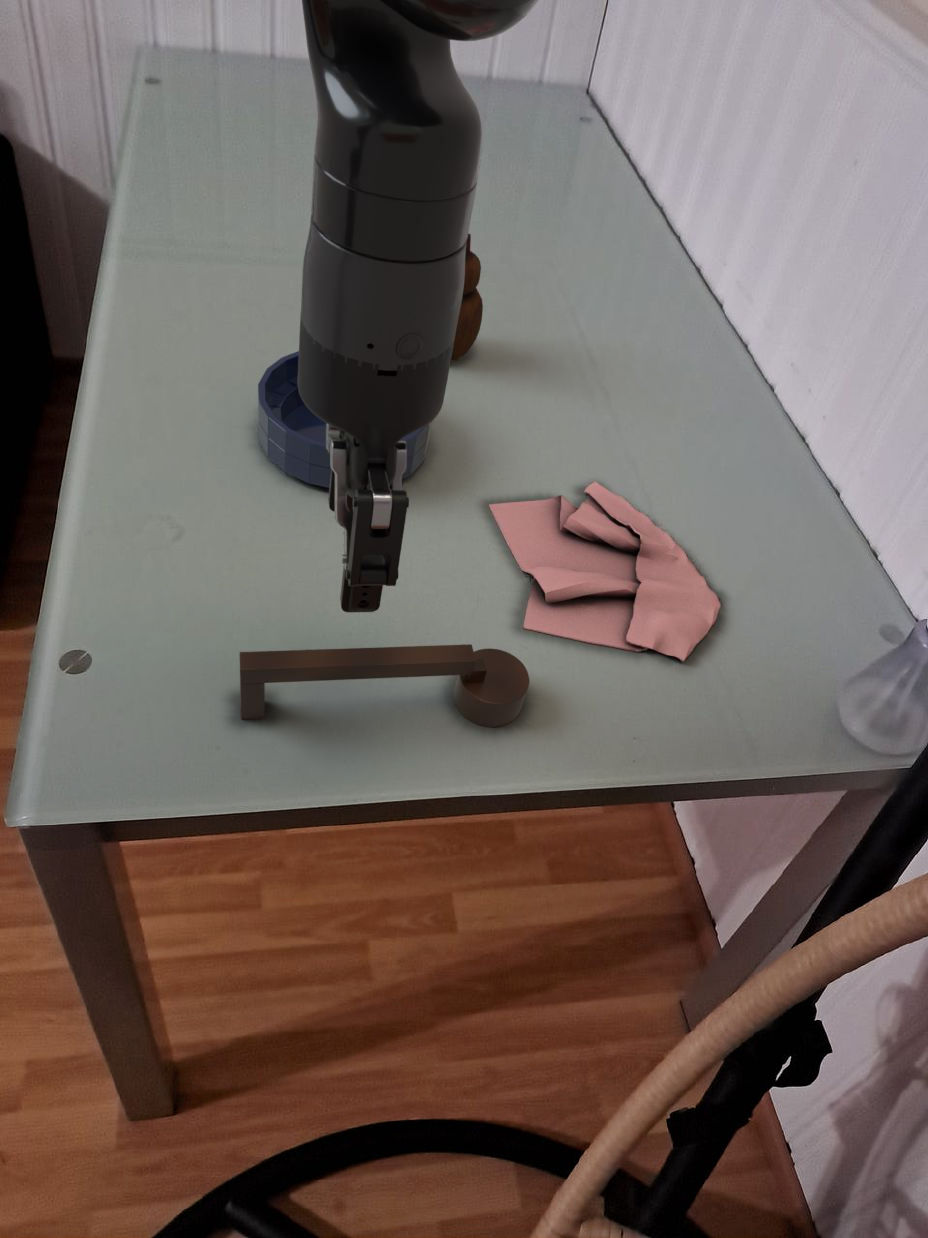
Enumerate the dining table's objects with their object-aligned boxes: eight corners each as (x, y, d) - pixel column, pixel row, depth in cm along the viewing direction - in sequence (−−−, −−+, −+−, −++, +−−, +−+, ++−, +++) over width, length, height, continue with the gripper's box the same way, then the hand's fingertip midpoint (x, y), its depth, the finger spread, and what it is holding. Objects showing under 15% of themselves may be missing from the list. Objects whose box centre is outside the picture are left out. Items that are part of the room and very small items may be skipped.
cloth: (710, 687, 76) (721, 668, 74) (448, 605, 77) (452, 584, 75) (729, 527, 89) (738, 508, 88) (506, 460, 91) (511, 440, 89)
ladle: (241, 741, 65) (240, 692, 61) (239, 681, 69) (238, 631, 65) (528, 725, 70) (545, 679, 66) (513, 670, 73) (528, 623, 69)
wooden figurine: (437, 375, 99) (459, 236, 88) (402, 347, 101) (419, 209, 90) (484, 358, 102) (511, 222, 91) (449, 331, 105) (472, 196, 94)
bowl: (293, 510, 82) (295, 464, 78) (235, 403, 90) (234, 358, 86) (454, 477, 88) (462, 433, 84) (385, 380, 96) (390, 337, 93)
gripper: (292, 237, 50) (283, 478, 61) (311, 400, 40) (296, 647, 52) (433, 248, 51) (398, 480, 63) (482, 406, 42) (430, 644, 54)
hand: (352, 556), depth 58 cm, fingers open, 8 cm apart
